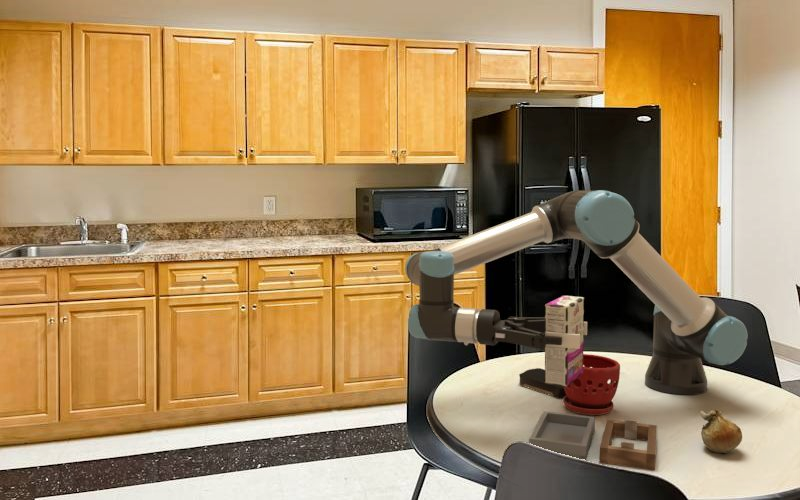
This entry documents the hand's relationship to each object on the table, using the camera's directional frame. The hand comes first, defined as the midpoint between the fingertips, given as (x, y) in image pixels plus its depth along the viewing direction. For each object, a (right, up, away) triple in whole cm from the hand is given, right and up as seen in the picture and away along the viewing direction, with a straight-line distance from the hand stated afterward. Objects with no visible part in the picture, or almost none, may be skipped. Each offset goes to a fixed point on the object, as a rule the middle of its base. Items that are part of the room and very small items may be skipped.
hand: (583, 334), depth 136 cm
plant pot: (+8, -21, +23) cm, 32 cm away
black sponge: (+2, -19, +39) cm, 43 cm away
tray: (-3, -23, +4) cm, 23 cm away
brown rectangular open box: (+9, -23, -1) cm, 25 cm away
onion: (+27, -23, -2) cm, 36 cm away
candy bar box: (-4, -10, +3) cm, 10 cm away
